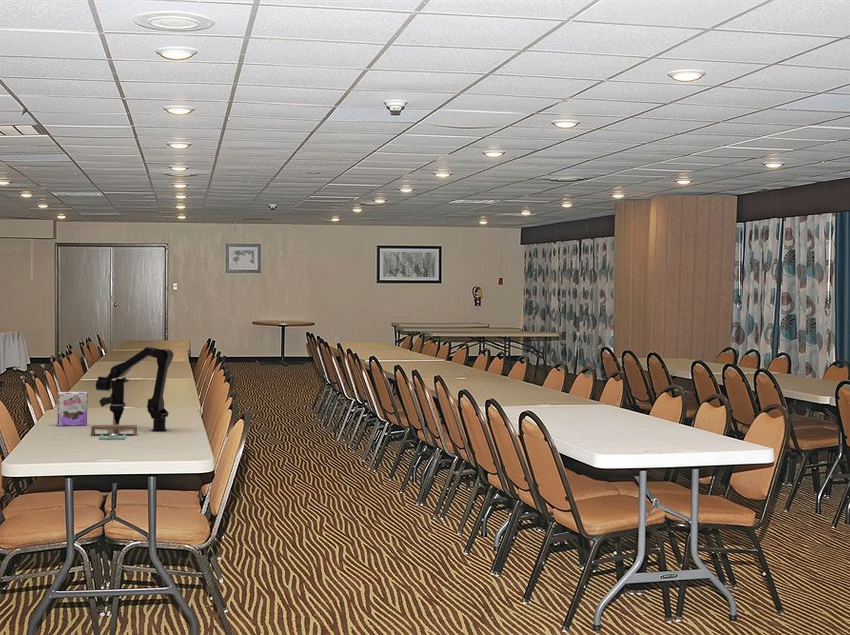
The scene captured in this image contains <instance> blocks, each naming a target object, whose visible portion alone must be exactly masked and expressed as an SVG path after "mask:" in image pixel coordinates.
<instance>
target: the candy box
mask: <svg viewBox="0 0 850 635" xmlns="http://www.w3.org/2000/svg"><path fill="white" fill-rule="evenodd" d="M88 394H89V393H88V392H87V391H58V392H57V414H56V416H57V418H56V425H57V427H79V426H80V427H81V426H82V427H84V426H85V427H86V426H88V424H87V423H88Z"/></svg>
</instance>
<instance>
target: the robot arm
mask: <svg viewBox="0 0 850 635" xmlns="http://www.w3.org/2000/svg"><path fill="white" fill-rule="evenodd" d="M149 357H150V358H151V357H152V358H156V363H157V364H156V365H157V372H156V377H155V382H154V388H153V389H154V390H153V394H152V397H151V398H148V399H147V405H146V408H147V409H146V410H147V412H148V414H150V418H151V419H152V420H153V421H152V425H153V426H152V429H151V431H152V432H166V431H167V428H166V422H167V420H166V418H168V417H169V411H167V409H165V401H164V400H165V399H164V392H165V385H166V382H167V374H168V369H169V366H170V365H171V363H172V361H173V358H174V352H173V351H172V349H170V348H163V349H161V348H156V347H152V346H146V347H144V349H142V350H141V351H139V352H138V353H136V354H135V355H133V356H131V357H130V358H129V359H127V360H126V361H124V362H121V363H118V364H116V365H113V366H112V367H111V368H110V371H109V373H108V374H107V376H98V377H97V380H96V383H95V389H96V391H102V392H103V391H105V392H107V391H108V392H109V391H111V394H110V396H107V397H106V396H104V397H101V399H99V404H100V407H105V406H106V405H109V404H110V405H109V411H111V412H112V414H113V413H114V417H115V422H116V424H118V423H119V420H120V421H121V418H122V416H123V413H124V410H125V407H126V402H125V383H129V382H130V381H129V379H127V378H126V375H127V374H128V373H129V372H130V371H131V369H132V368H134V367H135V366H137V365H138V364H140V363H141V362H143V361H144V360H145V359H147V358H149Z"/></svg>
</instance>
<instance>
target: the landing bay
mask: <svg viewBox="0 0 850 635" xmlns="http://www.w3.org/2000/svg"><path fill="white" fill-rule="evenodd" d="M126 437H127V434H123V436H122V437H104V434H100V436H99V438H98V440H99V441H101V440H103V441H107V440H109V441H113V440H114V441H116V440H117V441H118V440H119V441H121V440H123V441H124V440H125V439H126Z"/></svg>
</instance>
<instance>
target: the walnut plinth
mask: <svg viewBox="0 0 850 635" xmlns="http://www.w3.org/2000/svg"><path fill="white" fill-rule="evenodd" d="M110 429H121V430H133V436H137V434H138V425H137V424H120V425H113V424H92V425H91V426H90V437H93V436H95V434H96V430H110Z"/></svg>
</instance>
